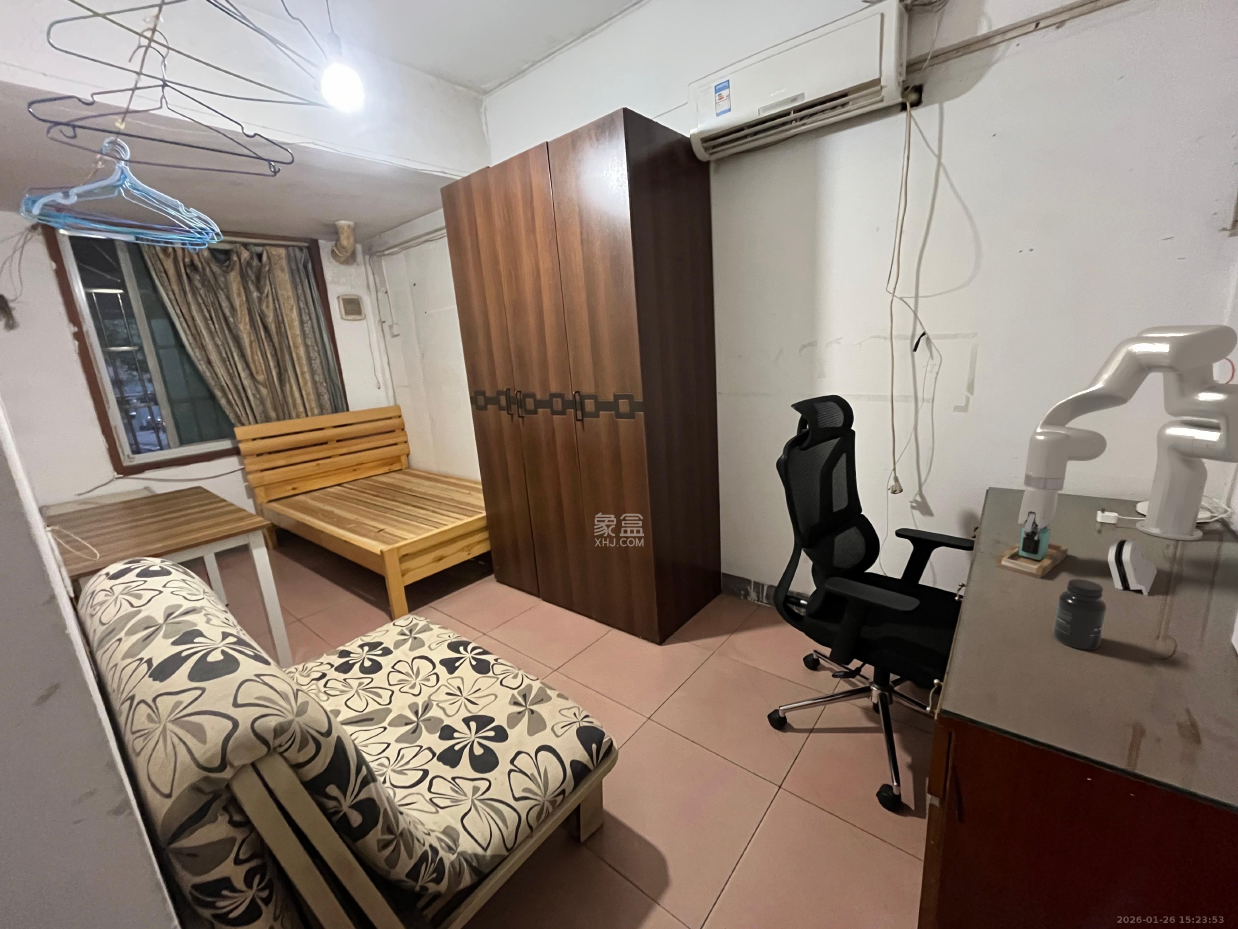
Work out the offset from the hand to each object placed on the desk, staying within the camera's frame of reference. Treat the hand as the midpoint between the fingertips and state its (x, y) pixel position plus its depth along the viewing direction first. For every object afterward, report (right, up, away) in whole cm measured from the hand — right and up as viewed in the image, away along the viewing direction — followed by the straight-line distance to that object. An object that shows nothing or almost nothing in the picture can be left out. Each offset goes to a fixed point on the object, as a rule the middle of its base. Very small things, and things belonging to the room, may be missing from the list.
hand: (1033, 549), depth 128 cm
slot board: (0, -3, +1) cm, 3 cm away
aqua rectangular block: (0, -2, 0) cm, 2 cm away
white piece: (+14, -5, -10) cm, 18 cm away
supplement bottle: (-18, -13, -31) cm, 38 cm away
